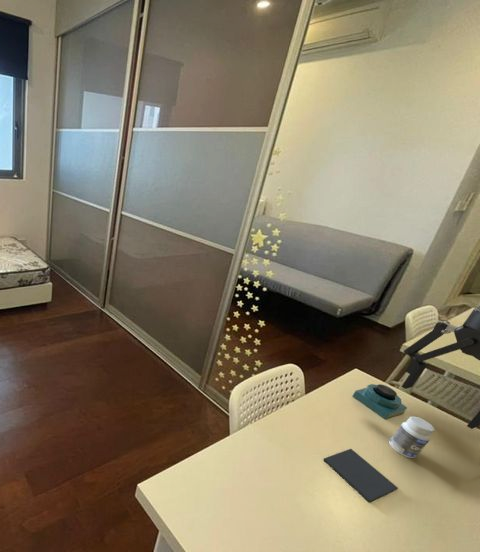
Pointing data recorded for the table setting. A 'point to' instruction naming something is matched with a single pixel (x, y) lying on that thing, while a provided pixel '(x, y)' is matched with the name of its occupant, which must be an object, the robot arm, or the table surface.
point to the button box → (379, 402)
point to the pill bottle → (411, 437)
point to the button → (385, 392)
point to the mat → (360, 475)
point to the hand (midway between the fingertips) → (437, 405)
